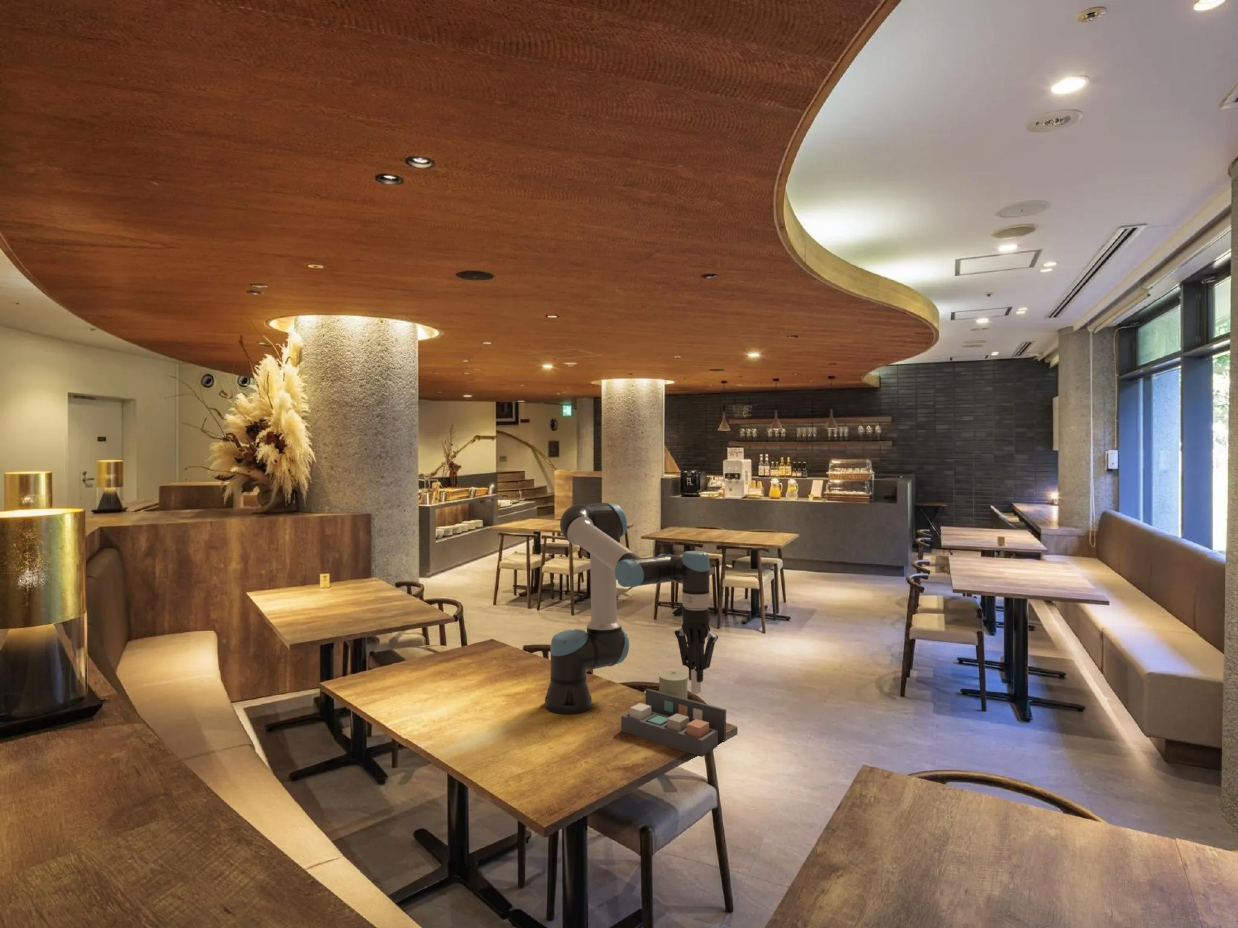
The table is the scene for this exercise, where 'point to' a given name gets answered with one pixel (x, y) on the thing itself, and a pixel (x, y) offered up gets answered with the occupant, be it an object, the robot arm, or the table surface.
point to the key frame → (669, 735)
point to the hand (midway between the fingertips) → (695, 692)
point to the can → (673, 683)
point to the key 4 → (698, 728)
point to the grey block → (677, 722)
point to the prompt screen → (688, 710)
